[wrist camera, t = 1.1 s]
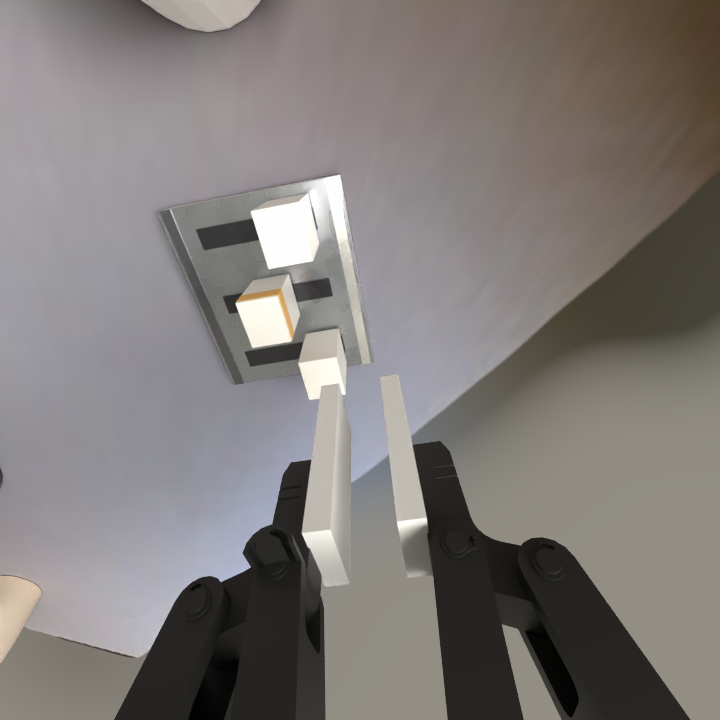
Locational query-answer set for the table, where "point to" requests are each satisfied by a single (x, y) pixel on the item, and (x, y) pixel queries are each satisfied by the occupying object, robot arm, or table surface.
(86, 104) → the table surface
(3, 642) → the water bottle
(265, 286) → the block
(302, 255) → the block
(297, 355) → the panel
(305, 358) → the breaker low
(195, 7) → the mug
